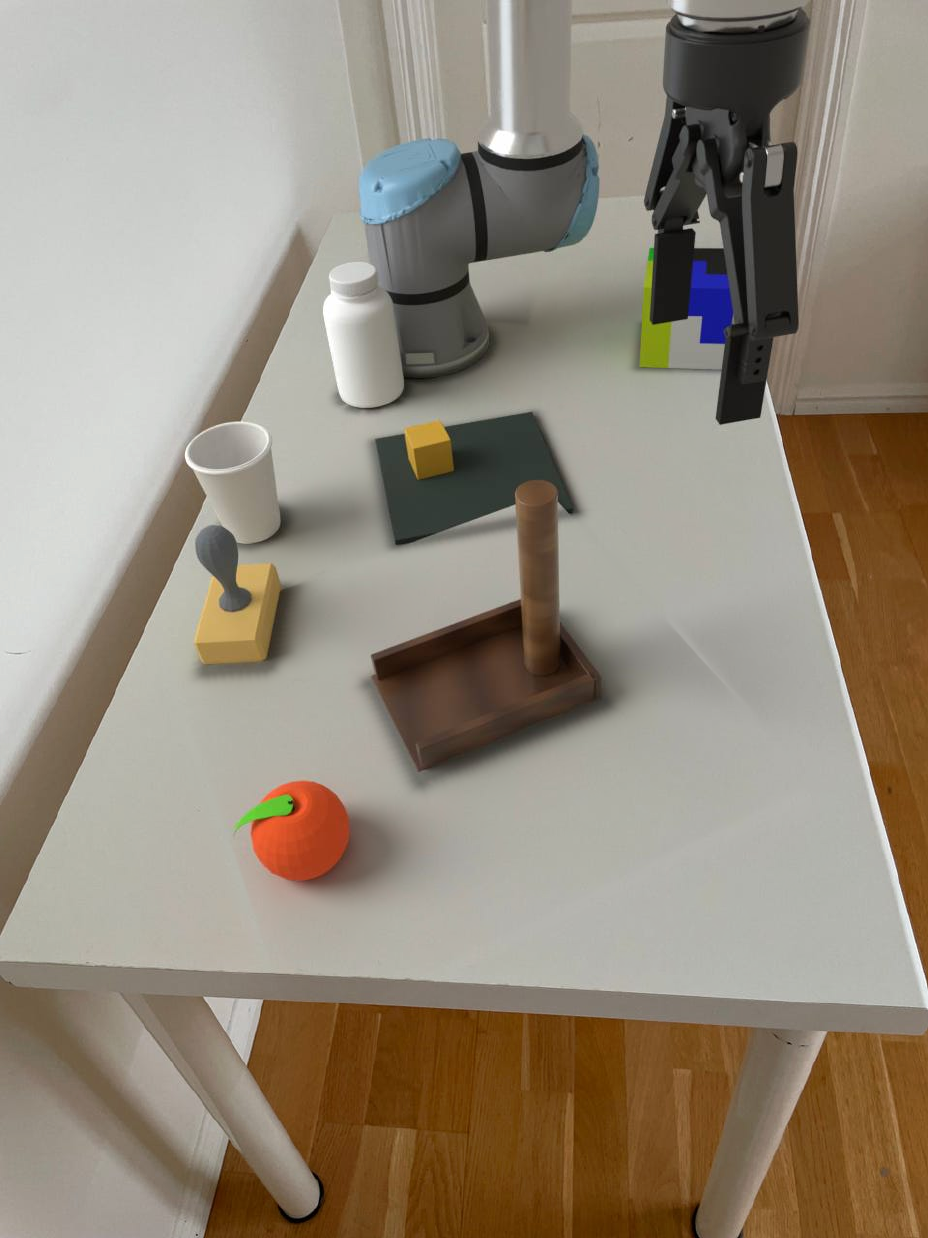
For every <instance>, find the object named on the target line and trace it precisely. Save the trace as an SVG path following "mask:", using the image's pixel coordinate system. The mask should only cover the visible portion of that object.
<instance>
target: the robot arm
mask: <svg viewBox="0 0 928 1238" xmlns="http://www.w3.org/2000/svg"><path fill="white" fill-rule="evenodd" d="M810 2H811V0H665V3H666V4H667V6H668V8H669V9H671V10H672V12H674V13H675V14H674V15H673V16H672V17H671V19H670V21H669V22H667V24H666V26H665V39H664V53H663V55H664V56H663V71H662V89H663V91H664V93H665V94H666V99H665V111H664V117H663V121H662V125H661V128H660V133H659V136H658V141H657V146H656V150H655V152H654V158H653V161H652V165H651V169H650V173H649V176H648V182H647V184H646V190H645V193H644V199H643V205H644V208H645V210H646V211H647V212H650V211H651V212H652V214H651V225H652V228H653V230H654V231H657V233H655V234H654V238H653V239H654V241H653V248H654V255H653V271H652V288H651V304H650V322H651V323H652V325H655V324H661V323H667V322H673V321H679V320H685V319H688V312H689V301H690V290H691V279H692V268H693V257H694V248H695V245H696V234H697V233H696V230H694V229H693V228H692V227H689V228H684V226H690V225H691V226H692V225H697V224H700V223H701V221H700V220H699V219H700V215H699V208H700V207H701V205H702V203H703V201H704V199H705V198H706V197H707V198H706V199H707V204H708V211H709V215H710V217H711V218H712V219H713V220H716V221H717V222H718V223H719V228H720V234H721V240H722V241H721V242H722V248H724V255H725V261H726V268H727V274H728V281H729V288H730V294H731V301H732V308H733V321H734V324H733V323H732V325H729V326H727V328H725V329H724V330H723V331H724V334H725V336H726V338H725V346H724V355H723V363H722V370H720V371H721V372H720V380H719V387H718V394H717V395H718V396H717V402H716V403H717V404H716V410H715V411H716V412H715V420H716V422H717V423H718V425H719V426H721V425H727V424H733V423H739V422H745V421H749V420H755V419H760V418H761V415H762V409H763V403H764V398H765V391H766V385H767V379H768V374H769V373H768V372H769V366H770V361H771V356H772V355H771V354H772V349H773V343H774V338H778V337H782V336H789V335H794V334H796V333H798V330H799V324H800V321H799V320H800V319H799V298H798V297H799V294H798V269H797V242H796V241H797V240H796V218H795V217H796V215H795V212H796V211H795V183H796V174H797V173H796V172H797V163H798V152H799V151H798V146H797V144H796V142H795V141H786V142H780V143H773V142H772V139H771V113H772V111H773V109H774V108H775V107H776V106H778V104H780V103H781V102H782V101H784V100H787V99H789V97H791V96H792V95H793V94H794V93H796V92H797V90H798V89H799V87H800V85H801V82H802V77H803V70H804V66H805V65H804V64H805V57H806V50H807V44H808V38H809V33H810V32H809V31H810V26H811V20H810V18H809V17H808V15H807V12H806V11H805V10H804V9H803V8H804V7H805V6H807V5H808V4H809V3H810ZM572 17H573V0H485V18H486V19H485V21H486V43H487V44H486V45H487V68H488V71H487V72H488V92H489V93H488V95H489V115H488V117H487V118H486V119H485V120H484V121H483V122H482V123H481V124H480V125H479V128H478V129H477V137H476V138H477V150H475V151H470V152H463V153H461V151H460V149H459V148H458V145H457V144H456V143H455V142H454V141H452V140H449V139H447V138H441V137H437V138H435V139H431V138H429V137H428V138H420V139H416V140H415V139H414V140H410V141H406V142H403V143H400V144H397V145H395V146H393V147H390V148H388V149H385V150H384V151H382V152H380V153H379V154H377V155H375V157H374V158H372V159H371V160H370V161H368V162H367V163H366V165H365V166H364V167H363V169H362V170H361V173H360V175H359V179H358V193H359V203H360V209H359V216H360V220H361V222H363V225H364V231H365V240H366V245H367V246H366V247H367V252H368V253H367V254H368V258H369V259H368V260H369V264H372V265H373V266H374V267H375V268H376V269H377V274H378V286H379V287H381V288H383V289H384V290H385V291H387V292H388V294H389V295H390V297H391V299H392V302H393V307H394V314H395V321H396V328H397V335H398V342H399V349H400V356H401V363H402V370H403V377H404V378H411V379H413V378H414V379H423V378H424V379H427V378H435V377H442V376H447V375H450V374H454V373H456V372H459V371H462V370H464V369H466V368H468V367H470V366H472V365H473V364H475V363H476V362H478V361H480V359H481V358H482V357H483V356H484V355H485V354H486V352H487V351H488V349H489V347H490V334H489V326H488V323H487V319H486V317H485V315H484V313H483V311H482V308H481V305H480V304H479V301H478V299H477V296H476V294H475V292H474V290H473V287H472V284H471V281H470V280H471V279H470V269H469V264H475V263H479V262H485V261H492V260H497V259H504V258H509V257H510V258H512V257H516V256H523V255H528V254H534V253H535V254H536V253H539V252H540V253H541V252H544V253H551V252H553V251H556V250H558V249H560V248H565V247H570V246H574V245H577V244H579V243H580V242H582V240H583V239H585V238H586V237H587V235H588V234H589V232H590V231H591V230H592V227H593V224H594V221H595V218H596V214H597V210H598V204H599V197H600V177H599V169H600V164H599V156H598V151H597V147H596V145H595V143H594V141H593V140H592V138H591V137H590V136H589V135H586V134H584V125H583V123H582V122H581V121H580V119H579V118H578V117H576V116H575V115H574V114H573V112H572V111H571V73H572V72H571V69H572V67H571V66H572V65H571V64H572V25H573V24H572V20H573V18H572ZM663 188H664V189H663Z"/></svg>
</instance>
